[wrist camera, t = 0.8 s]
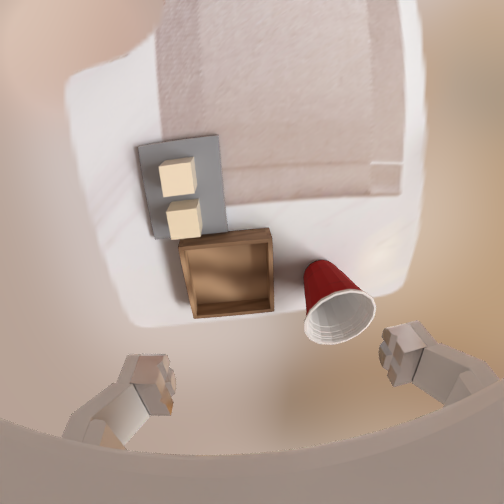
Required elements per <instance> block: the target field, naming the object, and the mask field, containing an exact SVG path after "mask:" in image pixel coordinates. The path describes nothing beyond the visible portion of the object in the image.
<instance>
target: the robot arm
mask: <svg viewBox="0 0 504 504" xmlns="http://www.w3.org/2000/svg"><path fill="white" fill-rule="evenodd" d="M382 338H383V340H384V341H383V342H382V344H381V345H380V347H379V360H380V363H381V365H382V367H383V368H384V369H386V370H388V374H387V376H388V378H389V380H390V382H391V384H392V386H393V387H396V386H399V385H403V384H407V383H411V382H412V384H414V385H415V386H417V387H418V388H420V389H421V390H423V391H424V392H426V393H427V394H429V395H430V396H432V397H433V398H435V399H436V400H438V401H439V402H441V403H442V404H444V406H443V407H442V408H441V409H439V410H436V411H434V412H431V413H429V414H426V415H423V416H421V417H418V418H415V419H413V420H410V421H407V422H404V423H401V424H398V425H395V426H392V427H389V428H385V429H382V430H379V431H375V432H372V433H368V434H364V435H360V436H357V437H353V438H348V439H344V440H340V441H335V442H330V443H325V444H320V445H315V446H309V447H302V448H296V449H289V450H281V451H272V452H262V453H250V454H234V455H176V454H175V455H174V454H160V453H147V452H138V451H130V450H127V449H126V448H125V447H124V445H125V444H126V443H127V442H128V441H129V440H130V438H131V437H132V436H133V435H134V434H135V433H136V432H137V431H138V429H139V428H140V427H141V426H142V425H143V424H144V423H145V422H146V420H147V419H148V418H149V417H150V415H158V416H171V413H172V407H173V400H172V398H171V397H172V396H173V395H174V394H175V390H176V378H175V374H174V371H173V370H172V369H171V368H170V367H169V364H170V360H169V358H168V355H166V354H129V355H128V356H127V358H126V360H125V363H124V365H123V367H122V370H121V372H120V375H119V377H118V380H117V382H116V383H112V384H111V385H110V386H108V387H107V388H106V389H104V390H103V391H102V392H100V393H99V394H98V395H96V396H95V397H94V398H92V399H91V400H90V401H88V402H87V403H86V404H85V405H83V406H82V407H80V408H79V409H78V410H76V411H75V412H74V413H72V414H71V416H70V418H69V421H68V423H67V425H66V428H65V430H64V432H63V435H62V438H61V437H57V436H53V435H50V434H46V433H42V432H39V431H36V430H33V429H29V428H27V427H24V426H21V425H18V424H15V423H12V422H10V421H7V420H5V419H2V418H0V504H504V378H502V379H499V378H498V377H497V375H496V374H495V373H494V372H493V370H492V369H491V368H490V367H489V365H488V364H487V363H486V362H485V361H483V360H480V359H478V358H475V357H473V356H471V355H468V354H466V353H464V352H461V351H459V350H456V349H454V348H452V347H449V346H447V345H445V344H442V343H439V344H438V343H437V342H436V341H435V339H434V338H433V337H432V336H431V334H430V333H429V332H428V331H427V330H426V328H425V327H424V326H423V325H422V324H421V322H420V321H417V320H416V321H413V322H409V323H406V324H401V325H397V326H393V327H388V328H385V329H384V330H383V333H382Z"/></svg>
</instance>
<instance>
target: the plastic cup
mask: <svg viewBox="0 0 504 504" xmlns="http://www.w3.org/2000/svg"><path fill="white" fill-rule="evenodd" d="M304 289H305V299H306V311H307V313H306V318H305V321H304V326H305V334H306V335H307V336H308V338H310V340H312V341H314V342H316V343H319V344H337V343H341V342H345V341H347V340H349V339H351V338H353V337H355V336H357V335H359V334H360V333H361V332H362V331H363V330H365V329H366V328H367V327H368V326H369V324H370V323H371V321H372V320H373V318H374V316H375V311H376V304H375V302H374V299H373V297H371V296H370V295H369V294H367V293H366V292H364V291H363V290H361V289H360V288H359V287H357V286H356V285H355V284H354V283H353V282H352V281H351V280H350V279H349V278H348V277H347V276H346V275H345V274H344V273H343V272H342V271H341V270H339V269H338V268H337V267H336V266H335V265H334V264H332V263H331V262H329V261H326V260H319V261H315V262H314V263H312V264H310V265H309V266H308V267H307V269H306V270H305V273H304Z"/></svg>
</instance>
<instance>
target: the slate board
mask: <svg viewBox="0 0 504 504" xmlns="http://www.w3.org/2000/svg"><path fill="white" fill-rule="evenodd" d="M138 151H139V157H140V164H141V170H142V176H143V182H144V187H145V193H146V198H147V203H148V209H149V214H150V218H151V223H152V228H153V233H154V237H155V239H164V238H171V236H170V230H169V225H168V220H167V214H166V211H167V209H168V207H169V205H170V203H171V202H174V201H182V200H191V199H199V202H200V209H201V217H202V224H203V226H202V232H201V235H202V234H212V233H222V232H228V227H227V217H226V207H225V197H224V187H223V177H222V166H221V156H220V145H219V135H211V136H202V137H194V138H186V139H179V140H172V141H165V142H159V143H153V144H147V145H142V146H139V147H138ZM186 157H194V162H195V170H196V178H197V187H196V190H195V193H194V194H185V195H177V196H169V197H163V191H162V185H161V179H160V173H159V166H160V165H161V164H162V163H163V162H164V161H165V160H172V159H179V158H186Z"/></svg>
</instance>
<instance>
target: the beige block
mask: <svg viewBox="0 0 504 504" xmlns="http://www.w3.org/2000/svg"><path fill="white" fill-rule="evenodd" d="M166 214H167V220H168V225H169V230H170V236H171V240H175V239H185V238H194V237H201V232H202V226H203V224H202V217H201V209H200V202H199V199H191V200H182V201H174V202H171V203H170V205H169V207H168V209H167V211H166Z"/></svg>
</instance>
